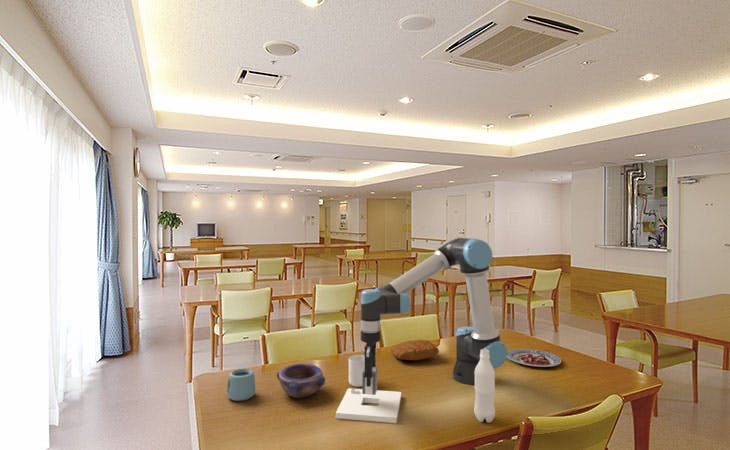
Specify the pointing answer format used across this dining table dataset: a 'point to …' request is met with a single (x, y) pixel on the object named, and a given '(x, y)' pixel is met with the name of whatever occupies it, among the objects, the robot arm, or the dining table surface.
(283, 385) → the bowl
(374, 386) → the plug
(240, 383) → the mug
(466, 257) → the robot arm
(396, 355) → the bread loaf
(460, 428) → the dining table surface
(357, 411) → the socket plate
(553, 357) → the ceramic plate
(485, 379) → the water bottle
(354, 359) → the mug
